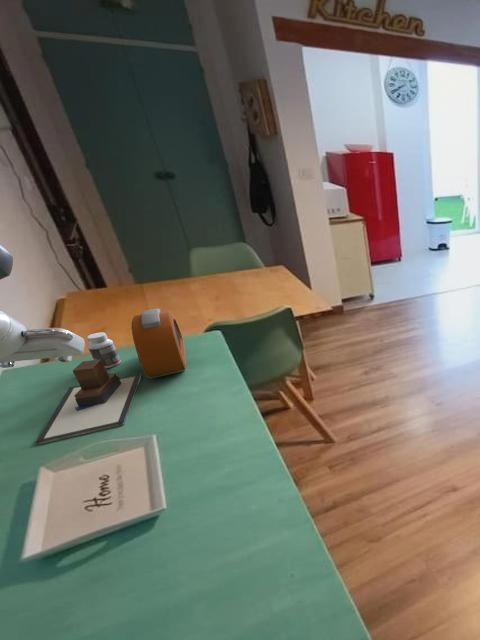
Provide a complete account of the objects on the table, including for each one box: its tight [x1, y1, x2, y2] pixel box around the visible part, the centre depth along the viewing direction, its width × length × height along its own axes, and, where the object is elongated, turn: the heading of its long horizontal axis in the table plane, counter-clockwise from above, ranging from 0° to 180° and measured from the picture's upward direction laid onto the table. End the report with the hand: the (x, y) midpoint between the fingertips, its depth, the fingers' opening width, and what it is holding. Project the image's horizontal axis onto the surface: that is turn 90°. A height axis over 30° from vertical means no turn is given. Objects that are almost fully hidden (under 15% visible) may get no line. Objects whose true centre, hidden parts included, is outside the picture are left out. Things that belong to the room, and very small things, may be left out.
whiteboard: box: [34, 373, 143, 446], centre depth 105 cm, size 15×26×1 cm, turn 31°
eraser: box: [72, 359, 121, 407], centre depth 107 cm, size 10×5×9 cm, turn 21°
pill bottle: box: [86, 332, 122, 369], centre depth 122 cm, size 5×5×10 cm
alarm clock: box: [131, 308, 187, 379], centre depth 122 cm, size 23×9×17 cm, turn 37°
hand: (39, 361), depth 91 cm, fingers open, 8 cm apart
